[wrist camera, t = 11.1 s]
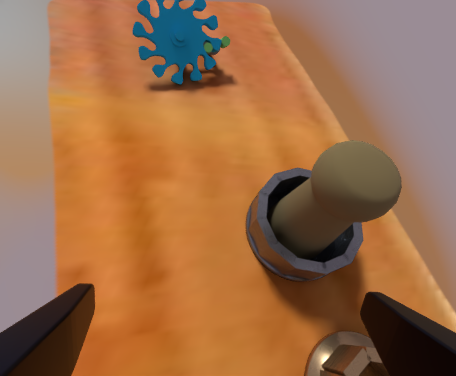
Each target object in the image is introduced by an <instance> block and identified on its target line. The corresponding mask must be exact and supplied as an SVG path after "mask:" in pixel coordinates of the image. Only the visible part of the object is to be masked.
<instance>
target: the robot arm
mask: <svg viewBox="0 0 456 376" xmlns="http://www.w3.org/2000/svg"><path fill="white" fill-rule="evenodd" d="M94 310H95V290H94V285H93V284H85V283H80V284H77V285H75V286H74V287H72V288H71V289H69V290H67V291H66V292H64V293H63V294H61V295H59V296H58V297H56V298H55V299H53V300H52V301H50V302H48V303H47V304H45V305H44V306H42V307H40V308H39V309H37V310H36V311H35V312H33V313H31V314H30V315H28V316H27V317H25V318H23V319H22V320H20V321H18V322H17V323H15V324H14V325H12V326H11V327H9V328H7V329H6V330H4V331H3V332H1V333H0V376H71V375H72V372H73V370H74V368H75V365H76V363H77V360H78V357H79V354H80V351H81V349H82V346H83V343H84V340H85V337H86V334H87V332H88V329H89V326H90V323H91V320H92V318H93V315H94ZM360 315H361V319H362V321H363V323H364V325H365V327H366V329H367V332H368V334H369V336H370V338H371V340H372V342H373V344H374V346H375V349H376V351H377V353H378V355H379V357H380V359H381V361H382V363H383V365H384V367H385V369H386V370H387V372H388V374H389V376H456V333H455V332H453V331H451V330H449V329H447V328H446V327H444V326H442V325H440V324H438V323H436V322H434V321H432V320H431V319H429V318H427V317H425V316H423V315H421V314H419V313H418V312H416V311H414V310H412V309H410V308H408V307H406V306H405V305H403V304H401V303H399V302H397V301H395V300H393V299H392V298H390V297H388V296H386V295H384V294H382V293H380V292H368V293H367V294H366V295H365V298H364V301H363V304H362V307H361V311H360Z"/></svg>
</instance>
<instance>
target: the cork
mask: <svg viewBox="0 0 456 376" xmlns="http://www.w3.org/2000/svg"><path fill="white" fill-rule="evenodd" d="M401 188H402V187H401V177H400V174H399V171H398V169H397V167H396V165H395V164H394V162H393V161H392V160H391V159H390V157H388V156H387V155H386V154H385V153H384V152H383V151H382V150H380V149H378V148H377V147H375V146H374V145H371V144H369V143H365V142H363V141H354V140H351V141H346V142H341V143H336V144H335V145H333V146H332V147H330V148H329V149H327V150H326V151H324V152H323V153H322V154H321V155H320V157H319V158H318V160H317V161H316V163H315V164H314V166H313V169H312V173H311V177H310V178H309V179H308V180H306V181H305V182H304V183H302V184H301V185H300V186H299V187H297V188H296V189H295V190H293V191H292V192H291V193H289V194H288V195H287V196H285V197H284V198H283V199H281V200H280V201H279V202H277V203H276V204H275V205H273V206H272V207H271V209H270V210H269V212H268V213H267V217H266V218H267V220H268V222H269V224H270V227H271V229H272V231H273V233H274V235H275V237H276V239H277V241H278V242H279V243H280V244H282V245H283V246H284V247H285V248H287V249H288V250H289V251H290V252H292V253H293V254H294V255H295V256H297V257H298V258H301V259H306V260H309V259H312V258H315V257H316V256H317V255H318V254H319V253H320V252H322V251H323V250H324V249H325V248H326V247H327V246H328V245H329V244H331V243H332V242H333V241H334V240H335V239H336V238H337V237H338V236H339V235H340V234H342V233H343V232H344V231H345V230H346V229H347V228H348V227H349V226H350V225H352V224H353V223H354V222H359V223H360V222H367V221H370V220H373V219H376V218H379V217H381V216H383V215H384V214H386V213H387V212H388V211H389V210H390V209H391V208H392V207H393V206H394V204H396V202H397V200H398V197H399V194H400V191H401Z"/></svg>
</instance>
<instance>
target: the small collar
mask: <svg viewBox="0 0 456 376" xmlns="http://www.w3.org/2000/svg"><path fill="white" fill-rule="evenodd" d="M304 376H389V374H388V372H387V370H386V369H385V367H384V365H383V363H382V361H381V359H380V357H379V355H378V353H377V351H376V349H375V346H374V344H373V342H372V340H371V338H369V337H367V336H365V335H363V334H360V333H356V332H350V331H339V332H334V333H331V334H329V335H327V336H325V337H324V338H322V339H321V340H320V341H319V342H318V343H317V344H316V345H315V347H314V348H313V350H312V351H311V353H310V355H309V358H308V360H307V364H306V367H305V373H304Z"/></svg>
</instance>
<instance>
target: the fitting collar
mask: <svg viewBox="0 0 456 376" xmlns="http://www.w3.org/2000/svg"><path fill="white" fill-rule="evenodd" d="M311 173H312V171H310V170H306V169H301V168H294V169H291V170H287V171H283V172H280V173H276V174H274V175H273V176H272V178H271V179H270V180H269V181H268V182H267V183H266V185H265V186H264V187H263V188H262V189H261V190H260V191H259V193H258V195H257V196H256V197H255V199H254V200H253V202H252V203H251V205H250V207H249V210H248V212H247V217H246V234H247V239H248V242H249V244H250V247H251V249H252V251H253V253H254V254H255V256H256V257H257V258H258V260H259V261H260V262H261V263H262V264H263V265H264V266H265V267H266V268H267V269H268V270H270V271H271V272H273V273H274V274H276V275H278V276H280V277H282V278H284V279H287V280H291V281H298V282H307V281H312V280H316V279H318V278H321V277H323V276H325V275H327V274H328V273H330V272H332V271H335V270H337V269H339V268H341V267H344V266H346V265H348V264H351V263H352V261H353V259H354V257H355V255H356V253H357V251H358V250H359V248H360V246H361V244H362V242H363V233H362V224H361V222H360V223H359V222H354V223H353V224H352V225H350V226H349V227H348V228H347V229H346V230H345V231H344V232H343V233H342V234H340V235H339V236H338V237H337V238H336V239H335V240H334V241H333V242H332V243H331V244H329V245H328V246H327V247H326V248H325V249H324V250H323V251H322V252H320V253H319V254H318V255H317V256H316V257H315V258H312V259H309V260H306V259H301V258H298V257H297V256H295V255H294V254H293V253H292V252H290V251H289V250H288V249H287V248H285V247H284V246H283V245H282V244H280V243H279V242H278V241H277V239H276V237H275V235H274V233H273V231H272V229H271V227H270V224H269V222H268V220H267V218H266V217H267V213H268V212H269V210H270V209H271V207H272V206H273V205H275V204H276V203H277V202H279V201H280V200H281V199H283V198H284V197H285V196H287V195H288V194H289V193H291V192H292V191H293V190H295V189H296V188H297V187H299V186H300V185H301V184H302V183H304V182H305V181H306V180H308V179H309V178H310V177H311Z"/></svg>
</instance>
